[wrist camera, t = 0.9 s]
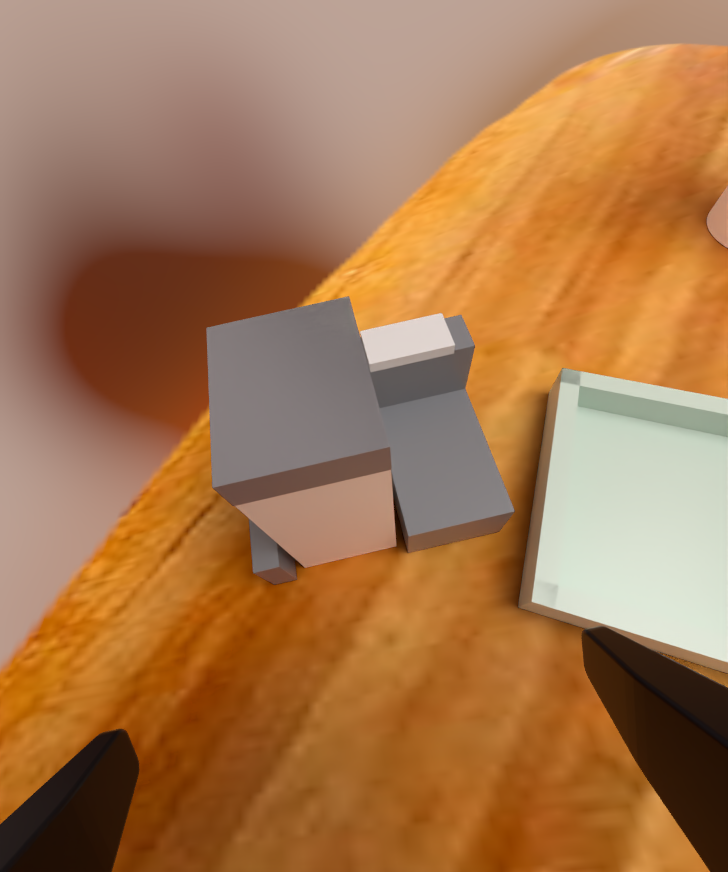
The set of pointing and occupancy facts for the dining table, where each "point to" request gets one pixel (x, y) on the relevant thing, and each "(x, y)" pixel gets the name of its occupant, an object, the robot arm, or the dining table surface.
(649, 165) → the dining table surface
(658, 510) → the tray
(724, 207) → the cylindrical container
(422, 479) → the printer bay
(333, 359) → the block
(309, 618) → the dining table surface
